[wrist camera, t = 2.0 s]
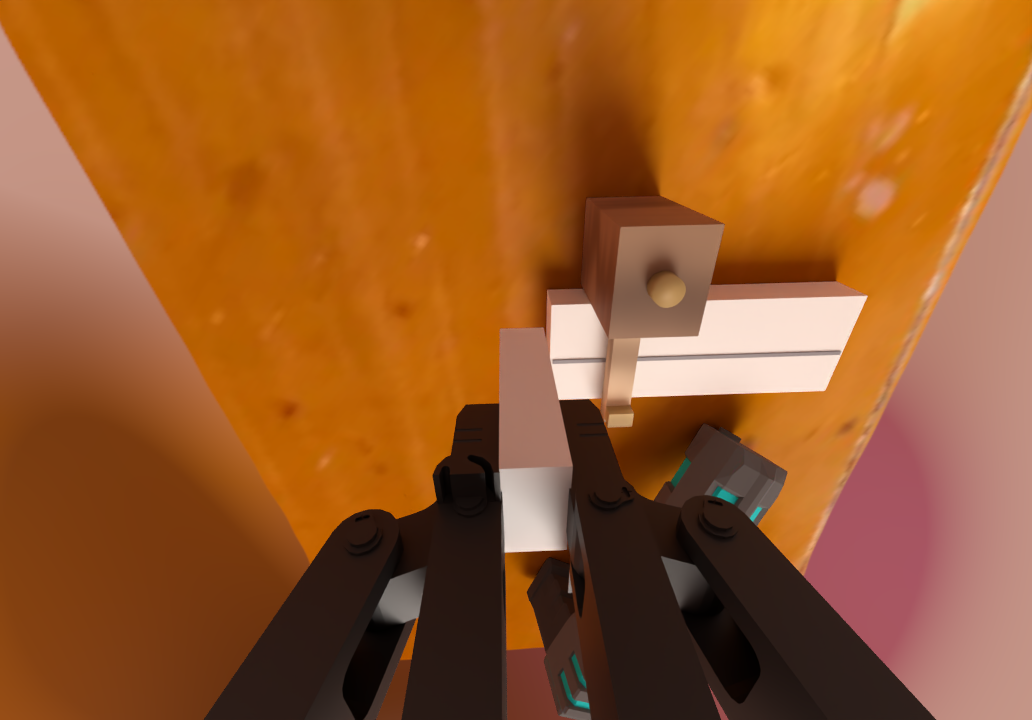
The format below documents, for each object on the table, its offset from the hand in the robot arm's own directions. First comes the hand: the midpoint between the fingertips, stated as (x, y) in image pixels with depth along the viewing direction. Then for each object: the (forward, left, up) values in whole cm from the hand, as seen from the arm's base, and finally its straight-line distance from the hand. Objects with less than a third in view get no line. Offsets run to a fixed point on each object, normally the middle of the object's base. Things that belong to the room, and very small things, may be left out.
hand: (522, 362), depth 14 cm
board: (+7, +14, -16) cm, 22 cm away
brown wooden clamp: (+5, +8, -16) cm, 18 cm away
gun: (+29, +12, -17) cm, 35 cm away
